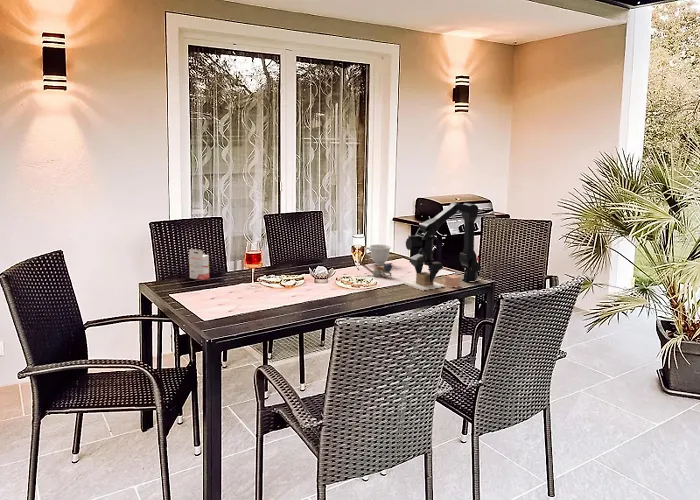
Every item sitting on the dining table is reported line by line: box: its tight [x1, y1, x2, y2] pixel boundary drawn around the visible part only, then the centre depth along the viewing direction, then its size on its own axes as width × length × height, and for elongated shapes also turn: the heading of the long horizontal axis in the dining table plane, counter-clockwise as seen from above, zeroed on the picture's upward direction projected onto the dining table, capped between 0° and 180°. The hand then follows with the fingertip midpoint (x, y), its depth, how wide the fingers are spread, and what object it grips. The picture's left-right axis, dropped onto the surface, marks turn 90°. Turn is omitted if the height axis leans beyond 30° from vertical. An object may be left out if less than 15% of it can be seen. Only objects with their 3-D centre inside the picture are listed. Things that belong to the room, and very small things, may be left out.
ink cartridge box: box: [188, 248, 210, 281], centre depth 287 cm, size 9×5×15 cm, turn 68°
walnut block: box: [415, 271, 435, 286], centre depth 286 cm, size 6×6×5 cm
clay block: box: [444, 274, 462, 287], centre depth 287 cm, size 5×5×5 cm
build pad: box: [404, 280, 446, 292], centre depth 287 cm, size 14×14×1 cm
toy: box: [358, 261, 393, 279], centre depth 303 cm, size 9×18×10 cm, turn 75°
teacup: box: [364, 244, 392, 266], centre depth 328 cm, size 12×15×10 cm
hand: (424, 279), depth 286 cm, fingers open, 9 cm apart
